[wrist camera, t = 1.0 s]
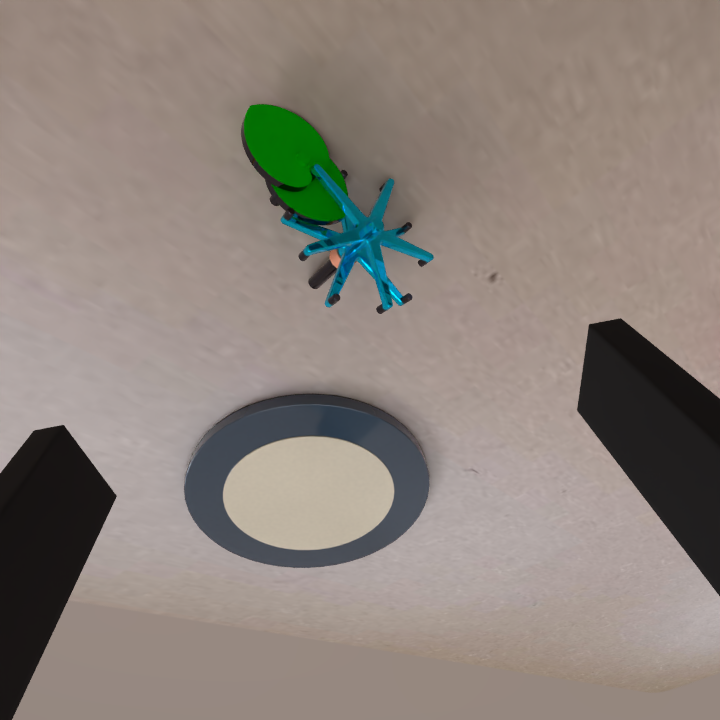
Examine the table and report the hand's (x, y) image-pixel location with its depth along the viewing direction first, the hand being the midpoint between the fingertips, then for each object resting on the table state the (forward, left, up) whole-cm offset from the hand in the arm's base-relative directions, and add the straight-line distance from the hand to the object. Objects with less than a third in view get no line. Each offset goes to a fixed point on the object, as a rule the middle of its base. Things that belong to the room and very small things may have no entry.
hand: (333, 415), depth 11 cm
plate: (+6, +21, -17) cm, 28 cm away
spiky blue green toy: (0, -1, -17) cm, 17 cm away
